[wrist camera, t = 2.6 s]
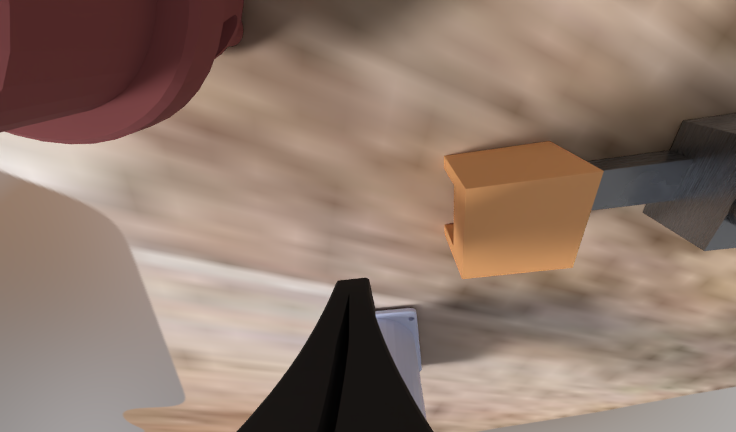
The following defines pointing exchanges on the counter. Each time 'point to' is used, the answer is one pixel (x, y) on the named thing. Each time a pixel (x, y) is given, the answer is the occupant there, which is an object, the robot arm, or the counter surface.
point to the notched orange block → (519, 208)
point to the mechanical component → (106, 63)
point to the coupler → (681, 183)
